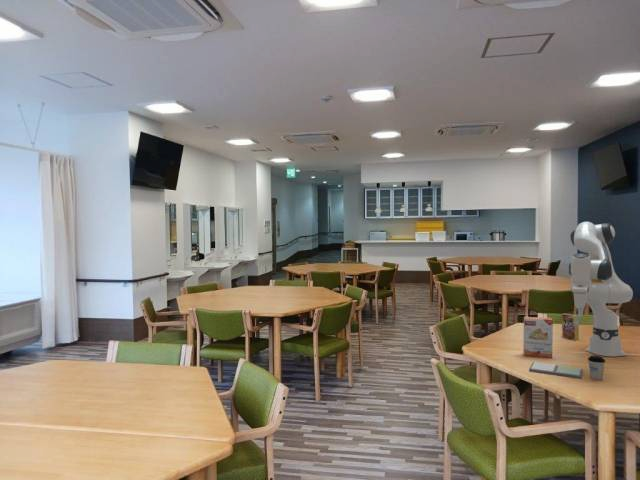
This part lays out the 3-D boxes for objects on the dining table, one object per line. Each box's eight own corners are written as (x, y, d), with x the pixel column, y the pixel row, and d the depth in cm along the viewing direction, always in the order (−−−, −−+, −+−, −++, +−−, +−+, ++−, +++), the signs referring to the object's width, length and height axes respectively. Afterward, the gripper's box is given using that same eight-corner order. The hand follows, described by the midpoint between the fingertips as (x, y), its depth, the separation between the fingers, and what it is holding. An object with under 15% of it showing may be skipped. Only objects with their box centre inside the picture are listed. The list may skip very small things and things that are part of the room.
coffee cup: (598, 376, 212) (598, 354, 212) (608, 380, 205) (608, 359, 205) (584, 376, 212) (584, 355, 212) (593, 381, 205) (593, 359, 205)
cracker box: (524, 356, 246) (524, 318, 246) (523, 353, 252) (523, 316, 251) (553, 358, 241) (552, 319, 241) (551, 355, 247) (551, 317, 247)
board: (533, 363, 232) (533, 361, 232) (582, 370, 220) (582, 368, 220) (529, 371, 221) (529, 368, 220) (581, 378, 209) (581, 376, 209)
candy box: (561, 337, 287) (561, 313, 287) (566, 336, 289) (566, 313, 288) (574, 340, 279) (574, 316, 278) (579, 339, 280) (579, 315, 280)
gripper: (575, 284, 231) (575, 311, 231) (571, 289, 214) (571, 318, 214) (589, 285, 228) (589, 312, 228) (587, 289, 211) (587, 319, 211)
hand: (580, 315), depth 221 cm, fingers open, 8 cm apart
